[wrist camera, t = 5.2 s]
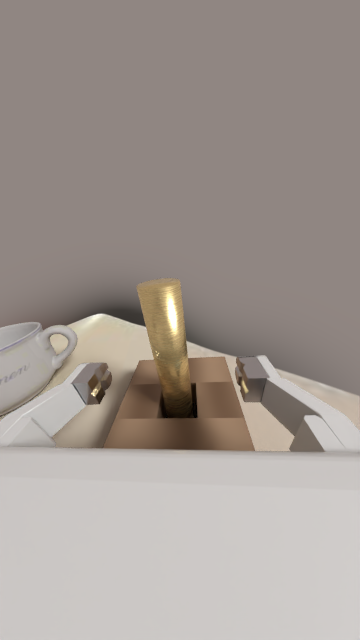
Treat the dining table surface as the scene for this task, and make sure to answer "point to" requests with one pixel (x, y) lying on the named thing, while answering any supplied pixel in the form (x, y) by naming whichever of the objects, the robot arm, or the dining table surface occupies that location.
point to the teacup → (28, 361)
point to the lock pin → (168, 342)
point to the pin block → (181, 433)
